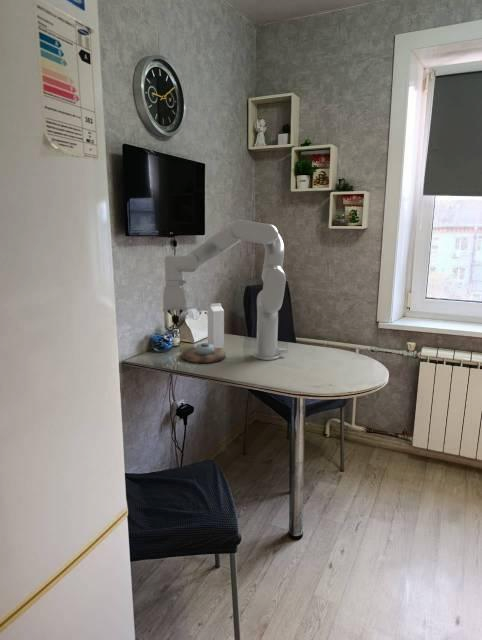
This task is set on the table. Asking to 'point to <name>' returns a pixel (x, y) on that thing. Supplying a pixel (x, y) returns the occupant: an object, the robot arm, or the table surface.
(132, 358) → the table surface
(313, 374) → the table surface
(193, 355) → the turntable
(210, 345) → the cover
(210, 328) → the milk
